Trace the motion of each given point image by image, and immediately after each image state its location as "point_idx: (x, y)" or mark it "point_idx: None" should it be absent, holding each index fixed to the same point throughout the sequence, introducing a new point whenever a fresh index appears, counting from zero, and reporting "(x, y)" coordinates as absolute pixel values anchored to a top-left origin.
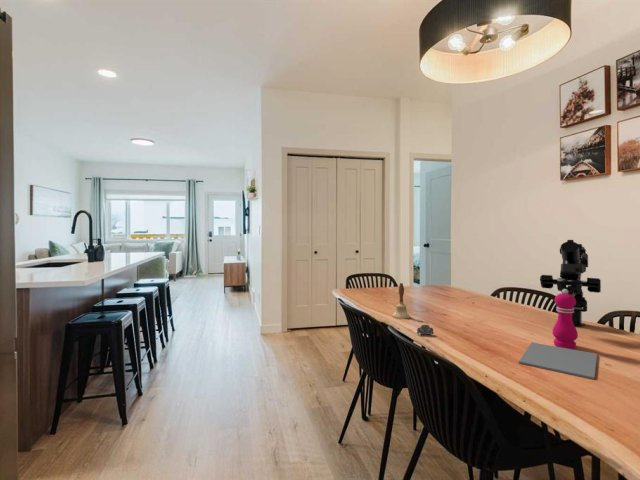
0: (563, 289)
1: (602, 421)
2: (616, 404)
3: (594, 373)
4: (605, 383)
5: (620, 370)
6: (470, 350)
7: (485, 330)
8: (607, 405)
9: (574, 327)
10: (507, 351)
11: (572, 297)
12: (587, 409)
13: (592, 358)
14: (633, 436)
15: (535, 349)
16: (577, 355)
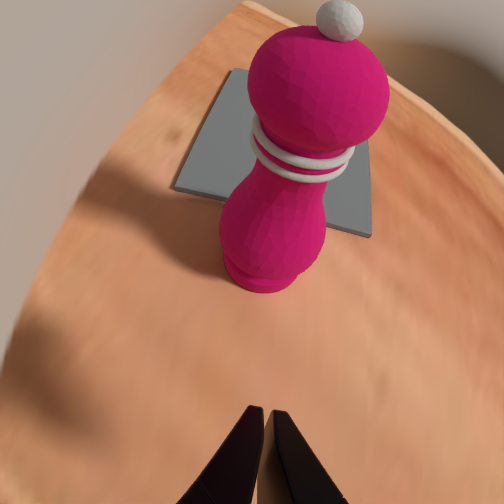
0: (356, 8)
1: (253, 17)
2: (226, 33)
3: (228, 78)
4: (218, 65)
5: (160, 115)
6: (454, 150)
7: (501, 336)
8: (238, 31)
9: (239, 184)
10: (403, 158)
11: (280, 31)
12: (263, 26)
13: (203, 145)
14: (232, 10)
15: (351, 170)
16: (240, 154)
